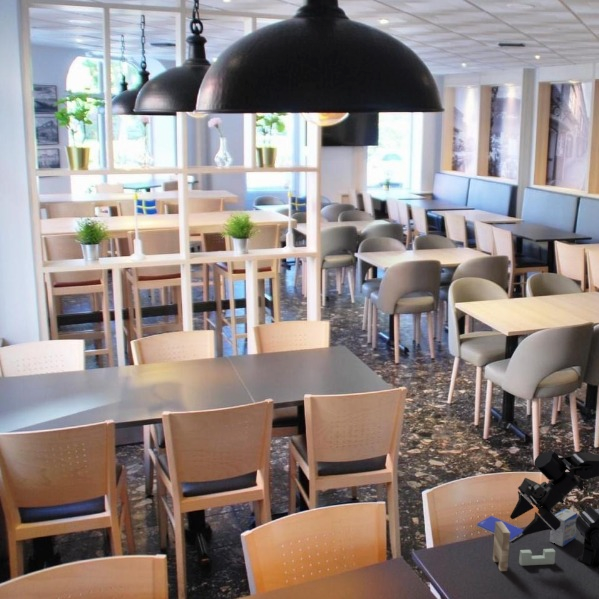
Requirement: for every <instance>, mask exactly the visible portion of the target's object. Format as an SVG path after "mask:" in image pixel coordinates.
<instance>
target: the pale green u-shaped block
mask: <svg viewBox="0 0 599 599" xmlns="http://www.w3.org/2000/svg"><path fill="white" fill-rule="evenodd" d="M555 560H556V550H555V549H554V548H543V550H542V555H541V554H540V555H533V552H532V550H531V549H520V550H519V558H518V563H519V565H520V566H538V565H539V566H542V565H543V566H544V565H555V563H556V562H555Z"/></svg>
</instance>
